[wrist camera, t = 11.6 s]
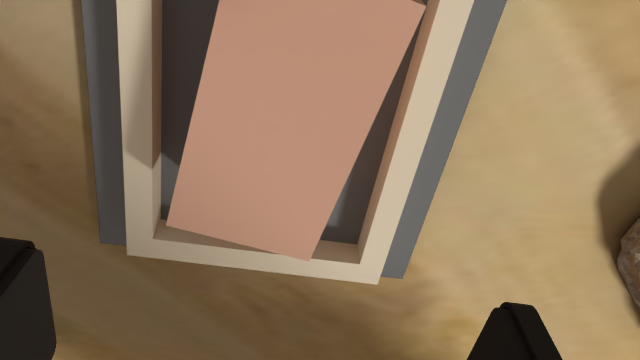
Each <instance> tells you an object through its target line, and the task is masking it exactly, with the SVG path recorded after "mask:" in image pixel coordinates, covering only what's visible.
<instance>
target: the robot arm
mask: <svg viewBox="0 0 640 360" xmlns="http://www.w3.org/2000/svg"><path fill="white" fill-rule="evenodd" d="M55 348H56V334H55V328H54V321H53V314H52V308H51V301H50V295H49V288H48V281H47V275H46V268H45V261H44V255H43V252H42V251H41V250H37V249H36V248H35V245H34V243H33V242H32V241H26V240H18V239H10V238H3V237H0V360H51V359H52V357H53V355H54V352H55ZM467 360H562V358H561V356H560V354H559V352H558V350H557V348H556V346H555V344H554V343H553V341H552V339H551V337H550V335H549V333H548V331H547V329H546V327H545V325H544V323H543V322H542V320H541V318H540V316H539V314H538V312H537V310H536V309H535V308H534V307H533V306H531V305H526V304H518V303H510V302H504V303H503V304H501V306H500V307H499V308H494V309H493V311H492V312H491V314H490V316H489V318H488V320H487V322H486V324H485V326H484V328H483V329H482V331H481V333H480V335H479V337H478V339H477V341H476V343H475V345H474V347H473V349H472V351H471V353H470V354H469V356H468V358H467Z"/></svg>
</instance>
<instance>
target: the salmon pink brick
mask: <svg viewBox="0 0 640 360" xmlns="http://www.w3.org/2000/svg"><path fill="white" fill-rule="evenodd" d="M425 9H426V5H425V4H424V3H423V2H422V1H421V0H219V4H218V8H217V12H216V16H215V21H214V25H213V29H212V33H211V37H210V42H209V46H208V50H207V54H206V59H205V63H204V67H203V71H202V75H201V80H200V84H199V88H198V92H197V97H196V101H195V105H194V109H193V113H192V118H191V122H190V126H189V130H188V134H187V139H186V143H185V147H184V151H183V156H182V160H181V164H180V168H179V172H178V177H177V181H176V185H175V189H174V194H173V198H172V202H171V206H170V210H169V215H168V219H167V223H166V226H170V227H174V228H178V229H182V230H186V231H190V232H194V233H198V234H202V235H206V236H210V237H214V238H218V239H222V240H226V241H230V242H234V243H238V244H242V245H246V246H250V247H254V248H257V249H261V250H265V251H269V252H273V253H277V254H281V255H285V256H289V257H293V258H297V259H301V260H305V261H310V259H311V257H312V254H313V252H314V250H315V248H316V246H317V243H318V241H319V239H320V237H321V235H322V233H323V230H324V228H325V226H326V224H327V222H328V220H329V217H330V215H331V213H332V211H333V209H334V206H335V204H336V202H337V200H338V198H339V196H340V193H341V191H342V189H343V187H344V185H345V183H346V180H347V178H348V176H349V174H350V172H351V170H352V167H353V165H354V163H355V161H356V159H357V156H358V154H359V152H360V150H361V148H362V146H363V143H364V141H365V139H366V137H367V135H368V133H369V130H370V128H371V126H372V124H373V122H374V120H375V117H376V115H377V113H378V111H379V109H380V106H381V104H382V102H383V100H384V98H385V96H386V93H387V91H388V89H389V87H390V85H391V83H392V80H393V78H394V76H395V74H396V72H397V69H398V67H399V65H400V63H401V61H402V59H403V56H404V54H405V52H406V50H407V48H408V46H409V43H410V41H411V39H412V37H413V35H414V33H415V30H416V28H417V26H418V24H419V22H420V19H421V17H422V15H423V13H424V11H425Z"/></svg>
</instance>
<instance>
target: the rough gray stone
mask: <svg viewBox="0 0 640 360" xmlns="http://www.w3.org/2000/svg"><path fill="white" fill-rule="evenodd" d="M621 247H622V250H621V252H620V254H619V256H618V258H617V264H618V269H619V271H620V273H621V275H622V277H623V278H624V280H625V283H626V286H627V289H628V291H629V293H630V294H631V296H632V298H633V300H634V301H635V303H636V304H637V305H638V306H639V307H640V218H639V219H638V220H637V221H636V222H635V224H634V225H633V226H632V227H631V228H630V229H629V230H628V232H627V233H626V234H625V235H624V236H623V237H622V239H621Z"/></svg>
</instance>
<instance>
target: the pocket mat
mask: <svg viewBox="0 0 640 360" xmlns="http://www.w3.org/2000/svg"><path fill="white" fill-rule="evenodd" d="M421 1H422V2H423V3H424V4H425V5H426V9H425V11H424V13H423V15H422V17H421V19H420V22H419V24H418V26H417V28H416V30H415V33H414V35H413V37H412V39H411V41H410V43H409V46H408V48H407V50H406V52H405V54H404V56H403V59H402V61H401V63H400V65H399V67H398V69H397V72H396V74H395V76H394V78H393V80H392V83H391V85H390V87H389V89H388V91H387V93H386V96H385V98H384V100H383V102H382V104H381V106H380V109H379V111H378V113H377V115H376V117H375V120H374V122H373V124H372V126H371V128H370V130H369V133H368V135H367V137H366V139H365V141H364V143H363V146H362V148H361V150H360V152H359V154H358V156H357V159H356V161H355V163H354V165H353V167H352V170H351V172H350V174H349V176H348V178H347V180H346V183H345V185H344V187H343V189H342V191H341V193H340V196H339V198H338V200H337V202H336V204H335V206H334V209H333V211H332V213H331V215H330V217H329V220H328V222H327V224H326V226H325V228H324V230H323V233H322V235H321V237H320V239H319V241H318V243H317V246H316V248H315V250H314V252H313V254H312V257H311V259H310V261H305V260H301V259H297V258H293V257H289V256H285V255H281V254H277V253H273V252H269V251H265V250H261V249H257V248H254V247H250V246H246V245H242V244H238V243H234V242H230V241H226V240H222V239H218V238H214V237H210V236H206V235H202V234H198V233H194V232H190V231H186V230H182V229H178V228H174V227H170V226H166V223H167V219H168V215H169V210H170V206H171V202H172V198H173V194H174V189H175V185H176V181H177V177H178V172H179V168H180V164H181V160H182V156H183V151H184V147H185V143H186V139H187V134H188V130H189V126H190V122H191V118H192V113H193V109H194V105H195V101H196V97H197V92H198V88H199V84H200V80H201V75H202V71H203V67H204V63H205V59H206V54H207V50H208V46H209V42H210V37H211V33H212V29H213V25H214V21H215V16H216V12H217V8H218V4H219V0H81V5H82V17H83V30H84V42H85V55H86V67H87V80H88V93H89V105H90V118H91V130H92V143H93V155H94V168H95V181H96V193H97V206H98V218H99V231H100V243H107V244H115V245H123V246H127V255H131V256H139V257H148V258H156V259H165V260H173V261H182V262H190V263H199V264H207V265H216V266H224V267H233V268H241V269H249V270H258V271H266V272H275V273H283V274H292V275H300V276H309V277H317V278H326V279H334V280H343V281H351V282H360V283H368V284H377V285H378V282H379V279H380V276H381V277H390V278H398V279H403V276H404V273H405V271H406V268H407V265H408V263H409V260H410V257H411V255H412V252H413V249H414V247H415V244H416V241H417V239H418V236H419V233H420V231H421V228H422V225H423V223H424V220H425V217H426V215H427V212H428V209H429V207H430V204H431V201H432V199H433V196H434V193H435V191H436V188H437V185H438V183H439V180H440V177H441V175H442V172H443V169H444V167H445V164H446V161H447V159H448V156H449V153H450V151H451V148H452V145H453V143H454V140H455V137H456V135H457V132H458V129H459V127H460V124H461V121H462V119H463V116H464V113H465V111H466V108H467V105H468V103H469V100H470V97H471V95H472V92H473V89H474V87H475V84H476V81H477V79H478V76H479V73H480V71H481V68H482V65H483V63H484V60H485V57H486V55H487V52H488V49H489V47H490V44H491V41H492V39H493V36H494V33H495V31H496V28H497V25H498V23H499V20H500V17H501V15H502V12H503V9H504V7H505V4H506V1H507V0H421Z"/></svg>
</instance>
